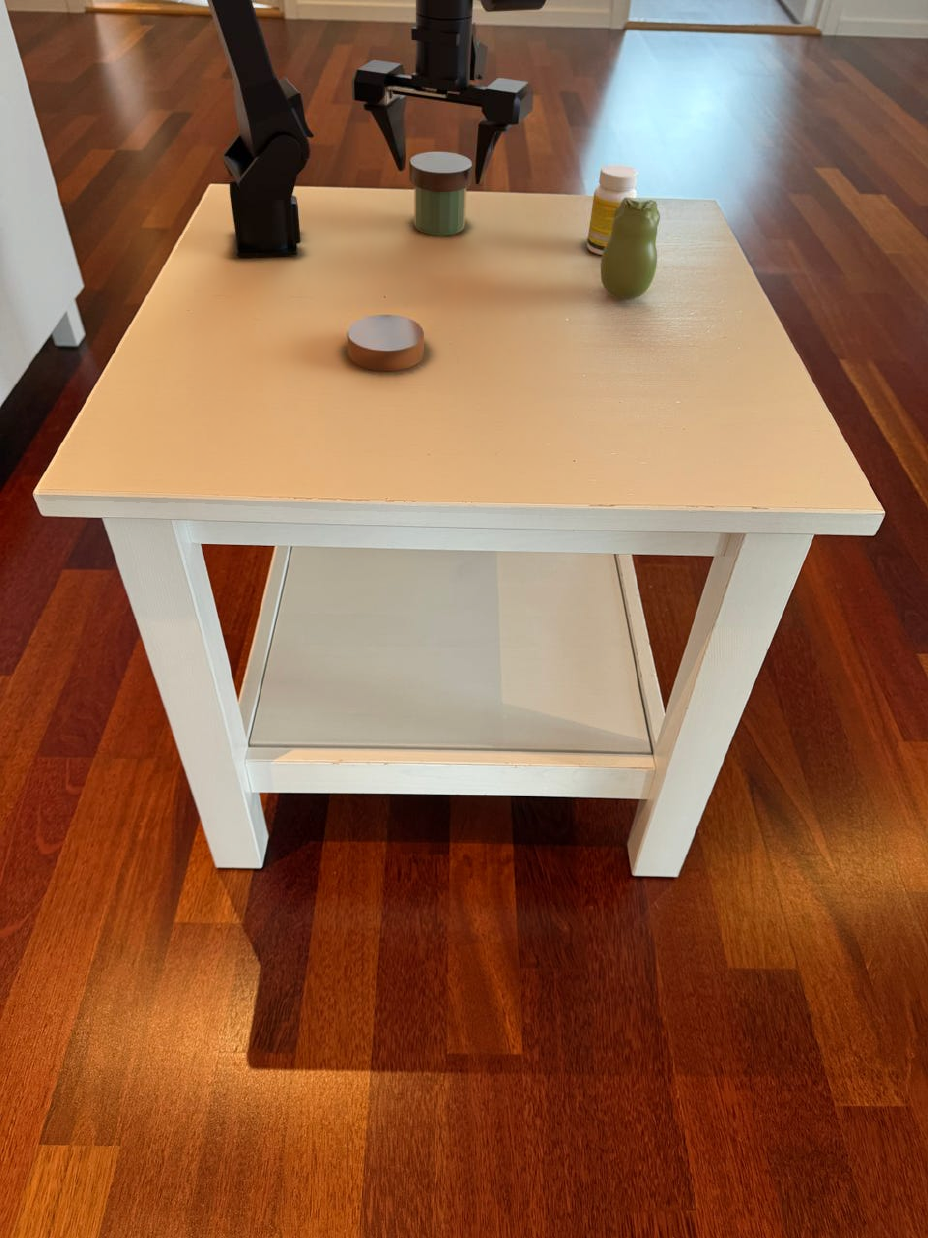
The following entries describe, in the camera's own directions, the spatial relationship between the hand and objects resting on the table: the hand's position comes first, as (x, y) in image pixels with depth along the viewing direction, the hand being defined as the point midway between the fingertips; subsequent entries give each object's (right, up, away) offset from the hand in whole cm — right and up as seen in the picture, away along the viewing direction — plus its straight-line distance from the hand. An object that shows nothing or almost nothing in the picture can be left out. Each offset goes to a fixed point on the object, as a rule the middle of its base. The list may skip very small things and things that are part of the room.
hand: (440, 176), depth 103 cm
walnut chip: (0, 0, 0) cm, 0 cm away
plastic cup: (0, -4, +4) cm, 5 cm away
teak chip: (-5, -25, -18) cm, 31 cm away
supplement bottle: (+19, -8, +1) cm, 20 cm away
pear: (+19, -16, -7) cm, 26 cm away
